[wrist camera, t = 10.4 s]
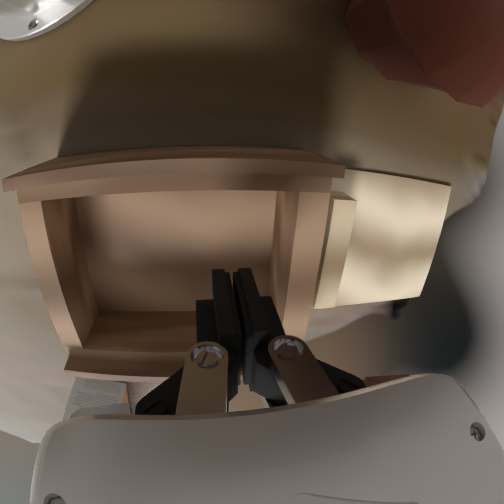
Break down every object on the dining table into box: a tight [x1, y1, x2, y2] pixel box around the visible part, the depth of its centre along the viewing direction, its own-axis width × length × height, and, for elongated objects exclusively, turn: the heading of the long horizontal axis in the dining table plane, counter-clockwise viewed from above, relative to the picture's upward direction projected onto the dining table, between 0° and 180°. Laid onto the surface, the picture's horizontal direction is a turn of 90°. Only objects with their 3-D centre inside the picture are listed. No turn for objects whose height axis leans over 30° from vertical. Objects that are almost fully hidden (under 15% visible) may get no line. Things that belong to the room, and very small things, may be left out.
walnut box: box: [2, 145, 346, 383], centre depth 16 cm, size 13×16×6 cm
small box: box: [63, 377, 128, 421], centre depth 20 cm, size 8×6×10 cm
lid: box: [311, 169, 451, 309], centre depth 20 cm, size 11×14×3 cm
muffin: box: [344, 0, 504, 107], centre depth 9 cm, size 12×11×10 cm
